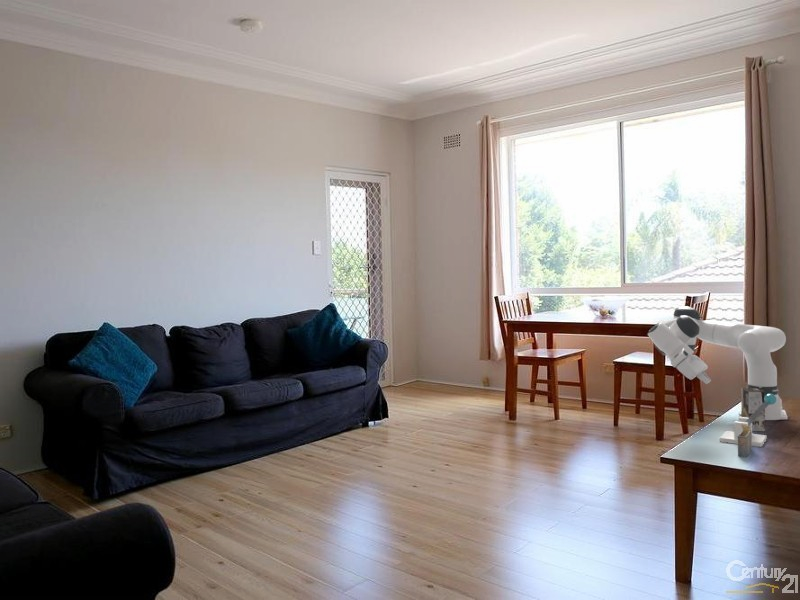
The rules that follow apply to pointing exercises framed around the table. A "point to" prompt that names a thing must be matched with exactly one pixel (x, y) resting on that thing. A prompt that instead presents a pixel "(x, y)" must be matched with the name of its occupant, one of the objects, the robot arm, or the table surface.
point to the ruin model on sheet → (745, 441)
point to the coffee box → (753, 406)
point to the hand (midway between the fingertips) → (709, 382)
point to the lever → (762, 407)
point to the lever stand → (733, 436)
